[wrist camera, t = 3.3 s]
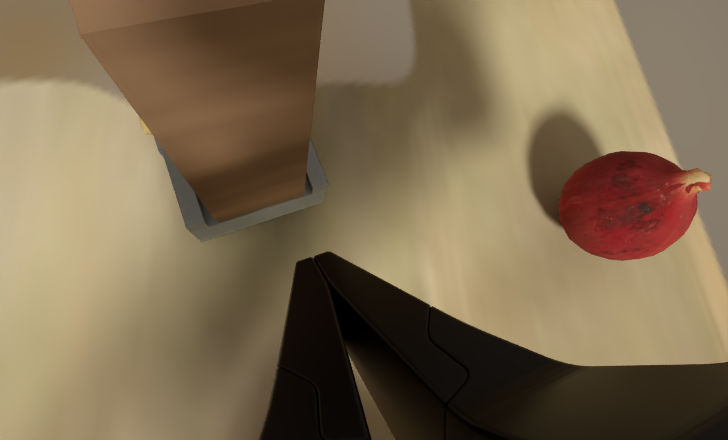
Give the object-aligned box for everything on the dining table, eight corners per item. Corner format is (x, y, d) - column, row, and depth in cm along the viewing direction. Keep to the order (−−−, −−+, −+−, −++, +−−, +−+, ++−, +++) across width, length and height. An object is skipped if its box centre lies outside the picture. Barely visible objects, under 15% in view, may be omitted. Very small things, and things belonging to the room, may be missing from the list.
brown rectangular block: (303, 195, 17) (331, -65, 6) (217, 222, 16) (35, -26, 5) (267, 98, 18) (226, -298, 6) (182, 119, 17) (-42, -307, 5)
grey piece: (337, 207, 22) (351, 173, 17) (189, 256, 19) (155, 234, 14) (257, 4, 24) (249, -78, 19) (118, 29, 22) (68, -57, 17)
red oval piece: (562, 285, 23) (697, 266, 15) (513, 201, 24) (619, 143, 16) (628, 245, 24) (781, 210, 17) (581, 167, 25) (705, 101, 18)
